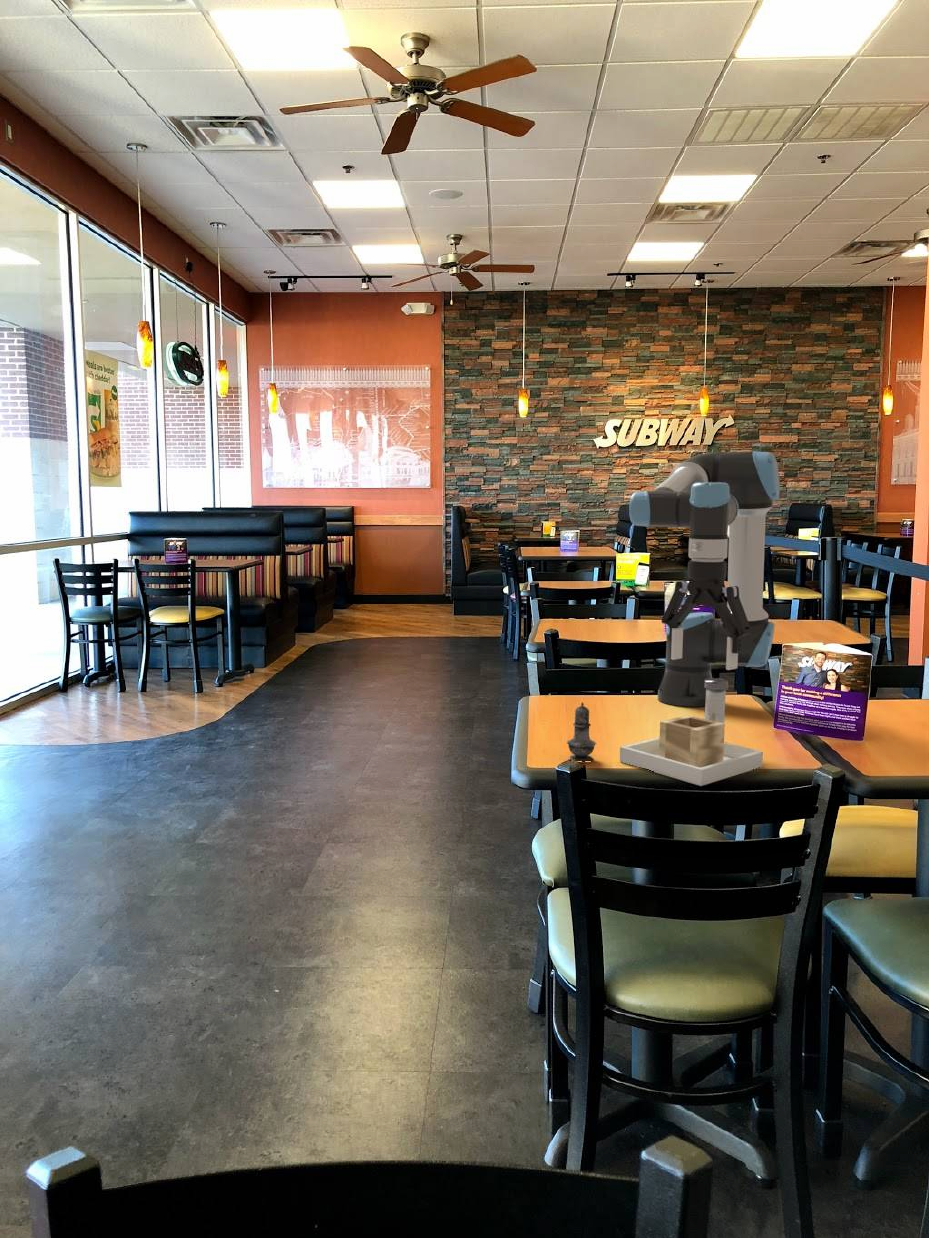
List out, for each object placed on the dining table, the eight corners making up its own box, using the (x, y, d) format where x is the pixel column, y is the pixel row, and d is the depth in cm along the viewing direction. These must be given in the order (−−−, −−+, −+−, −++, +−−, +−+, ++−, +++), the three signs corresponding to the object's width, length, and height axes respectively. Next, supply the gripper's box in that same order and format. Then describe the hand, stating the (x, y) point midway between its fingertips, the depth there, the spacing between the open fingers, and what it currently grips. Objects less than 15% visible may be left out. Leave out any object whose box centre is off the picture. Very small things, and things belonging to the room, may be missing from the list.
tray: (681, 745, 202) (682, 731, 201) (762, 766, 186) (763, 751, 186) (619, 761, 189) (620, 746, 189) (700, 785, 174) (701, 769, 174)
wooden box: (686, 752, 194) (688, 715, 193) (723, 762, 187) (724, 723, 186) (658, 760, 189) (660, 721, 187) (695, 770, 182) (696, 730, 181)
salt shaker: (575, 764, 187) (577, 706, 185) (561, 757, 192) (562, 700, 191) (601, 761, 189) (602, 704, 188) (586, 754, 195) (587, 698, 193)
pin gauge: (710, 744, 202) (713, 677, 200) (729, 749, 199) (732, 681, 197) (696, 748, 199) (700, 680, 197) (715, 753, 196) (718, 683, 194)
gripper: (646, 556, 194) (643, 656, 197) (750, 565, 175) (745, 676, 178) (669, 554, 199) (666, 652, 202) (773, 563, 179) (767, 671, 183)
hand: (703, 663), depth 190 cm, fingers open, 13 cm apart
